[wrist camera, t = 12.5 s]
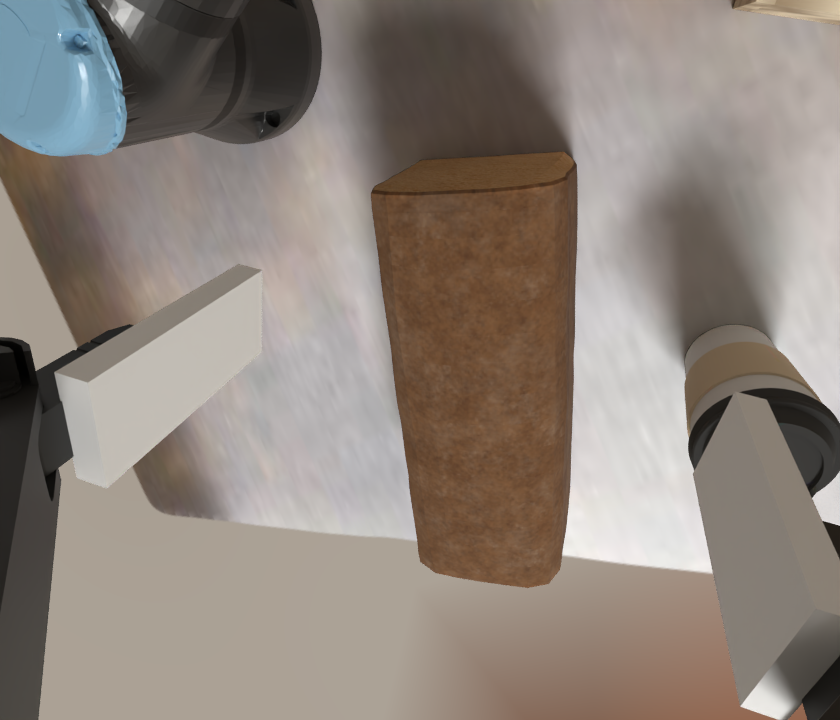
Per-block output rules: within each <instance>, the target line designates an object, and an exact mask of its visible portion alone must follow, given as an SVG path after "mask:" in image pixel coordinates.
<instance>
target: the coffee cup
mask: <svg viewBox="0 0 840 720" xmlns="http://www.w3.org/2000/svg"><path fill="white" fill-rule="evenodd" d="M685 373H686V380H685V403H686V417H687V430H688V436H689V443H688V451H689V457H690V460H691V463H692V465H693V468H694V471H695V469H696V467H697V465H698V463H699V461H700V459H701V457H702V455H703V453H704V451H705V449H706V447H707V445H708V443H709V441H710V439H711V437H712V435H713V433H714V431H715V429H716V427H717V425H718V423H719V422H720V420H721V418H722V416H723V414H724V412H725V410H726V408H727V406H728V404H729V402H730V400H731V398H732V396H733V394H734V392H739V393H743V394H747V395H751V396H754V397H758V398H762V399H766V400H767V401H768V403H769V406H770V408H771V410H772V412H773V414H774V416H775V419H776V421H777V423H778V425H779V427H780V430H781V432H782V434H783V436H784V438H785V441H786V443H787V445H788V447H789V449H790V452H791V454H792V456H793V458H794V460H795V463H796V465H797V467H798V469H799V471H800V473H801V476H802V478H803V480H804V482H805V484H806V487H807V489H808V491H809V493H810V495H811V498H812V497H813V496H814V495H815V494H816V492H818V491H820V490H821V489H823V488H824V487H825V486H826V485H828V484H829V483H830V482H831V481H832V480H833V479H834V478H835V477H836V475H837V474H838V473H839V471H840V423H839V421H838V420H837V418H836V417H835V415H834V414H833V413H832V412H831V411H830V410H829V409H828V408H827V407H826V406H825V405H824V404H822V402H821V401H820V399H819V397H818V396H817V395H816V394H815V392H814V391H813V390H812V389H811V387H810V386H809V385H808V384H807V382H806V381H805V380H804V379H803V377H802V376H801V375H800V374H799V372H798V371H797V370H796V369H795V367H794V366H793V365H792V364H791V362H790V361H789V360H788V359H787V358H786V357H785V356H784V355H783V354H782V353H781V352H779V351H778V350H777V348H776V347H775V346H774V344H773V343H772V342H771V341H770V339H769V338H768V337H767V336H766V335H765V334H764V333H762V332H761V331H759V330H757V329H755V328H752V327H749V326H745V325H724V326H720V327H717V328H714V329H711V330H709V331H707V332H705V333H704V334H702V335H701V336H699V337H698V338H697V339H696V340H695V341H694V342H693V343H692V345H691V346H690V348H689V349H688V351H687V354H686V357H685Z"/></svg>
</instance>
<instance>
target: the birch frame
mask: <svg viewBox="0 0 840 720" xmlns="http://www.w3.org/2000/svg"><path fill="white" fill-rule="evenodd" d="M733 9H736V10H743V11H750V12H756V13H763V14H770V15H776V16H783V17H790V18H796V19H803V20H810V21H816V22H823V23H830V24H836V25H840V0H736V1H735V4H734V7H733Z"/></svg>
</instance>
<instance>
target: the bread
mask: <svg viewBox="0 0 840 720" xmlns="http://www.w3.org/2000/svg"><path fill="white" fill-rule="evenodd" d="M371 201H372V212H373V219H374V226H375V234H376V241H377V249H378V256H379V265H380V274H381V283H382V291H383V298H384V304H385V311H386V318H387V324H388V331H389V338H390V344H391V352H392V362H393V372H394V381H395V388H396V396H397V404H398V409H399V414H400V419H401V424H402V432H403V440H404V448H405V456H406V462H407V468H408V474H409V488H410V495H411V502H412V508H413V515H414V521H415V527H416V534H417V542H418V552H419V557H420V562H422V563H423V564H425V565H426V566H427V567H428V568H430V569H431V570H432V571H434V572H435V573H439V574H443V575H448V576H452V577H457V578H463V579H469V580H474V581H481V582H488V583H495V584H502V585H510V586H518V587H526V588H529V587H534V586H539V585H545V584H549V583H550V581H551V580H552V579H553V578H554V576H555V575H556V574H557V572H558V571H559V570H560V566H561V559H562V550H563V544H564V538H565V532H566V524H567V515H568V505H569V493H570V475H571V439H572V412H573V382H574V364H573V354H574V340H575V276H576V254H577V165H576V163H575V161H574V160H573V159H572V158H571V157H570V156H569V155H567V154H566V153H565V152H549V153H533V154H516V155H502V156H488V157H469V158H450V159H433V160H420V161H419V162H417V163H416V164H415V165H413V166H411V167H410V168H408V169H406V170H404V171H402V172H400V173H399V174H397V175H395V176H393V177H391V178H390V179H388V180H387V181H385V182H382V183H380V184H378V185H376V186H375V187H374V188H373V190H372V192H371Z"/></svg>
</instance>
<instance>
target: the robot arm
mask: <svg viewBox="0 0 840 720" xmlns="http://www.w3.org/2000/svg"><path fill="white" fill-rule="evenodd" d="M321 57H322V51H321V37H320V31H319V26H318V21H317V18H316V14H315V11H314V8H313V5H312V3H311V0H0V133H1V134H2V135H3V136H5V137H6V138H8V139H9V140H11V141H13V142H14V143H16V144H18V145H20V146H22V147H24V148H26V149H29V150H32V151H35V152H37V153H41V154H47V155H51V156H70V155H80V154H91V155H103V154H106V153H108V152H112V149H116V148H121V147H126V146H131V145H136V144H140V143H145V142H150V141H155V140H159V139H164V138H169V137H174V136H179V135H183V134H188V133H192V132H195V133H198V134H201V135H204V136H207V137H210V138H213V139H216V140H219V141H222V142H227V143H233V144H250V143H256V142H260V141H264V140H268V139H271V138H274V137H276V136H279V135H281V134H283V133H284V132H286V131H287V130H289V129H290V128H291V127H293V126H294V125H295V124H296V123H297V122H298V121H299V120H300V119H301V117H302V116H303V115H304V113H305V112H306V110H307V109H308V107H309V105H310V103H311V101H312V99H313V97H314V94H315V92H316V89H317V85H318V81H319V77H320V70H321ZM261 352H262V270H259V269H256V268H252V267H248V266H244V265H240V264H238V265H236V266H235V267H233V268H231V269H229V270H228V271H226V272H224V273H223V274H221V275H219V276H218V277H216V278H214V279H212V280H211V281H209V282H207V283H206V284H204V285H202V286H200V287H199V288H197V289H195V290H194V291H192V292H190V293H189V294H187V295H185V296H183V297H182V298H180V299H178V300H177V301H175V302H173V303H171V304H170V305H168V306H166V307H165V308H163V309H161V310H160V311H158V312H156V313H154V314H153V315H151V316H149V317H148V318H146V319H144V320H142V321H141V322H139V323H137V324H136V325H130V324H129V325H126V326H122V327H119V328H115V329H112V330H108V331H106V332H105V333H103V334H101V335H99V336H97V337H96V338H94V339H92V340H91V342H90V343H88V342H87V343H85V344H83V345H82V346H80V347H78V348H77V350H76V351H75V350H73V351H71V352H69V353H68V354H66V355H64V356H62V357H60V358H59V359H57V360H55V361H53V362H52V363H50V364H48V365H47V366H44V367H43V368H41V369H39V370H37V371H35V366H34V362H33V358H32V353H31V349H30V346H29V344H27V343H26V342H24V341H23V340H19V339H15V338H4V337H0V720H38V716H39V706H40V696H41V685H42V675H43V664H44V654H45V653H44V652H45V643H46V633H47V623H48V612H49V602H50V591H51V581H52V570H53V569H52V568H53V560H54V549H55V539H56V528H57V517H58V506H59V496H60V486H61V478H60V474H59V470H58V468H59V467H60V466H61V465H63V464H64V463H65V462H67V461H68V460H69V459H71V458H73V462H74V466H75V472H76V476H77V478H78V479H81V480H84V481H87V482H90V483H93V484H95V485H99V486H101V487H104V488H108V487H109V486H110V485H111V484H113V483H114V482H115V481H116V480H117V479H118V478H119V477H121V476H122V475H123V474H124V473H125V472H126V471H127V470H128V469H129V468H131V467H132V466H133V465H134V464H135V463H136V462H138V461H139V460H140V459H141V458H142V457H143V456H144V455H146V454H147V453H148V452H149V451H150V450H151V449H152V448H153V447H155V446H156V445H157V444H158V443H159V442H160V441H161V440H163V439H164V438H165V437H166V436H167V435H168V434H169V433H170V432H172V431H173V430H174V429H175V428H176V427H177V426H178V425H180V424H181V423H182V422H183V421H184V420H185V419H186V418H188V417H189V416H190V415H191V414H192V413H193V412H194V411H195V410H197V409H198V408H199V407H200V406H201V405H202V404H203V403H205V402H206V401H207V400H208V399H209V398H210V397H211V396H212V395H214V394H215V393H216V392H217V391H218V390H219V389H220V388H222V387H223V386H224V385H225V384H226V383H227V382H228V381H230V380H231V379H232V378H233V377H234V376H235V375H236V374H237V373H239V372H240V371H241V370H242V369H243V368H244V367H245V366H247V365H248V364H249V363H250V362H251V361H252V360H253V359H254V358H256V357H257V356H258V355H259V354H260V353H261ZM693 476H694V481H695V486H696V491H697V496H698V501H699V506H700V511H701V516H702V521H703V526H704V531H705V536H706V540H707V545H708V550H709V555H710V560H711V565H712V570H713V575H714V580H715V584H716V590H717V594H718V600H719V604H720V609H721V614H722V619H723V624H724V629H725V634H726V639H727V643H728V648H729V654H730V659H731V663H732V669H733V673H734V678H735V683H736V688H737V693H738V698H739V702H740V706H741V707H743V708H746V709H749V710H752V711H755V712H758V713H761V714H764V715H766V716H770V717H772V718H775V719H778V720H788V719H789V718H790V717H791V715H792V714H793V713H794V712H795V711H796V710H797V709H798V707H799V706H800V705H801V704H802V703H803V706H804V710H805V713H806V716H807V720H840V526H838V525H835V524H831V523H828V522H824V521H822V519H821V517H820V515H819V513H818V511H817V509H816V506H815V504H814V502H813V500H812V498H811V495H810V493H809V491H808V489H807V487H806V484H805V482H804V480H803V478H802V476H801V473H800V471H799V469H798V467H797V465H796V463H795V460H794V458H793V456H792V454H791V452H790V449H789V447H788V445H787V443H786V441H785V438H784V436H783V434H782V432H781V430H780V427H779V425H778V423H777V421H776V419H775V416H774V414H773V412H772V410H771V408H770V406H769V403H768V401H767V400H766V399H762V398H758V397H754V396H751V395H747V394H743V393H739V392H734V394H733V396H732V398H731V400H730V402H729V404H728V406H727V408H726V410H725V412H724V414H723V416H722V418H721V420H720V422H719V423H718V425H717V427H716V429H715V431H714V433H713V435H712V437H711V439H710V441H709V443H708V445H707V447H706V449H705V451H704V453H703V455H702V457H701V459H700V461H699V463H698V465H697V467H696V469H695V471H694V473H693Z"/></svg>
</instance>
